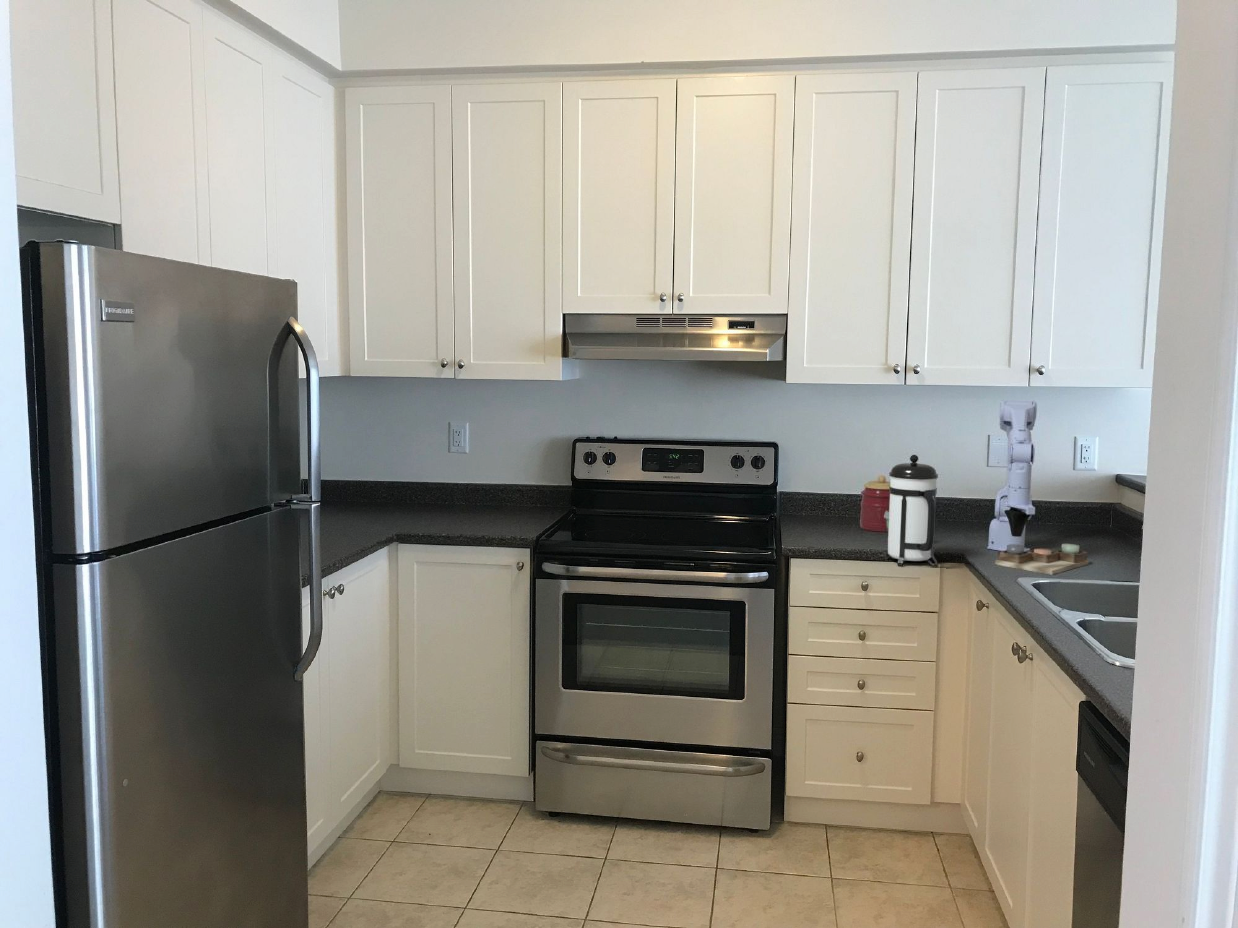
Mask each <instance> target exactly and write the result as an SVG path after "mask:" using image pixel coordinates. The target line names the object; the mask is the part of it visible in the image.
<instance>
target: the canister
mask: <svg viewBox="0 0 1238 928" xmlns="http://www.w3.org/2000/svg"><path fill="white" fill-rule="evenodd" d="M877 477H878V478H877V480H870V481H868V482H867V483H865V484H864V485H863V487H864V490H862V491H861V492H860V494H861V495H862V498H861V501H860V519H859V524H860V525H859V526H860V528H861V529H862V530H865V531H873V532H882V533H883V532H887V522H886V518H884V514H885V512H886V511H888V512H889V505H890V493H889V486H890V482H891V481H888V480H887V479H886V476H884V475H879V476H877Z"/></svg>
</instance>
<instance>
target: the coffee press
mask: <svg viewBox="0 0 1238 928" xmlns="http://www.w3.org/2000/svg"><path fill="white" fill-rule="evenodd" d="M909 460H910V462H908V463H907V462H904V463H899V464H896V465H894V466H893V467H892V469H891V471H889V475H888V476H889V477H890V481H889V482H890V486H889V493H890V505H889V530H888V537H887V550H886V551H885V553H884V554H883V559H884V560H889V559H890V558H893V559H897V567H901V568H902V567H904V566H905V563H906V562H907V561H908V562H909V561H910V562H922V561H923V562H927V563H929V565H930V566H931V567H934V566H936V565H937V564H938V560H937V559H936V557H935V555H934V548H935V547H934V546H935V545H934V544H935V543H934V542H935V525H936V524H935V523H936V519H935V518H936V506H937V505H936V504H937V503H936V501H937V499H936V496H937V490H938V489H937V479H938V478H939V474H938V473H937V470H936V469H935V468H934V467H933V466H931V465H929V464H925V463H918V461H919V456H918V455H917V454H912V455H911V456H910V457H909ZM887 554H888V556H889V557H887V556H886V555H887ZM931 558H932V560H933V561H934V563H932V561H931V560H929V559H931Z"/></svg>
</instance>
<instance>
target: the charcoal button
mask: <svg viewBox="0 0 1238 928" xmlns="http://www.w3.org/2000/svg"><path fill="white" fill-rule="evenodd" d="M1024 548H1025V545H1024V546H1022V545H1015V544H1009V545H1007V553H1010V554H1015V555H1022V554H1024Z"/></svg>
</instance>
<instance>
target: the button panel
mask: <svg viewBox="0 0 1238 928" xmlns="http://www.w3.org/2000/svg"><path fill="white" fill-rule="evenodd" d="M1061 549H1062V548H1060V549H1056V550H1054V551H1053V550H1051V551H1052V552H1051V554H1049V555H1045V554H1039V553H1034V549H1030V550H1029V551H1025V552H1024V554H1022V555H1015V554H1010V553H1007V550H1004V551H997V559H995V561H994V565H997V566H1002V567H1008V568H1014V569H1018V570H1024V571H1030V572H1035V573H1041V574H1044V575H1045V574H1046V575H1051V576H1053V575H1056V574H1059V573H1063V572H1066V571H1070V570H1073V569H1077V568H1080V567H1083V566H1086V565H1087V566H1088V565H1090V559H1088V552H1087V551H1083V550H1082V551H1081V550H1079V554H1069V553H1063V552H1061Z"/></svg>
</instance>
